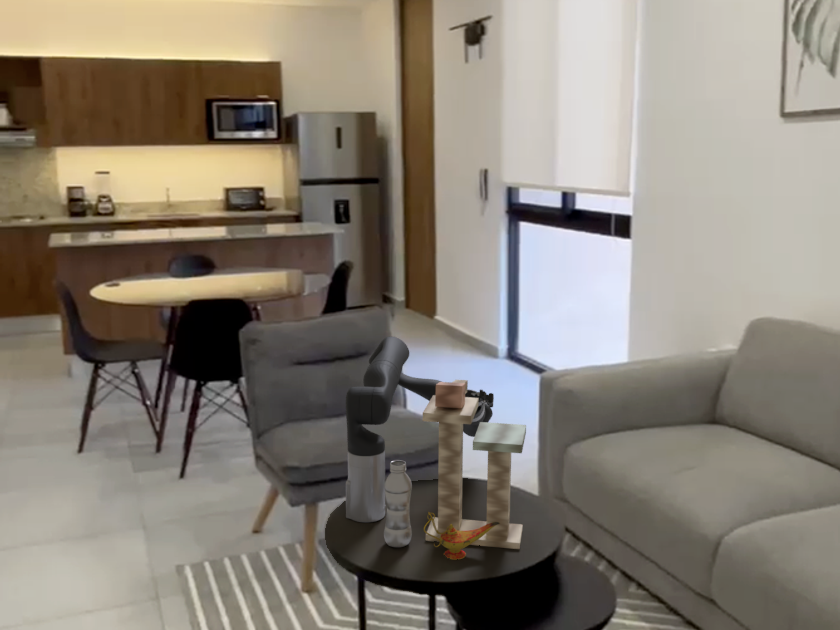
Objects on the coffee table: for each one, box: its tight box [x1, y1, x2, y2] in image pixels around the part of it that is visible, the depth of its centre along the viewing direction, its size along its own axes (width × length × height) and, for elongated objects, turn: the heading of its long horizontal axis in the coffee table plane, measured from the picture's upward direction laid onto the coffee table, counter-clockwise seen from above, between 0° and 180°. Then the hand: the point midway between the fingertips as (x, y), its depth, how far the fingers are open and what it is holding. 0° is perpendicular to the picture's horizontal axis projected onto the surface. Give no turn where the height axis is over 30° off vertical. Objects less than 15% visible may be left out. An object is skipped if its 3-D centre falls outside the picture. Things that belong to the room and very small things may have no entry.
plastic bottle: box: [383, 459, 413, 548], centre depth 196 cm, size 6×7×20 cm
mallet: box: [435, 379, 469, 408], centre depth 204 cm, size 6×22×5 cm, turn 169°
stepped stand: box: [422, 395, 527, 550], centre depth 200 cm, size 22×14×32 cm, turn 79°
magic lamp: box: [423, 511, 500, 561], centre depth 193 cm, size 7×18×11 cm, turn 103°
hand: (464, 392), depth 221 cm, fingers open, 8 cm apart
